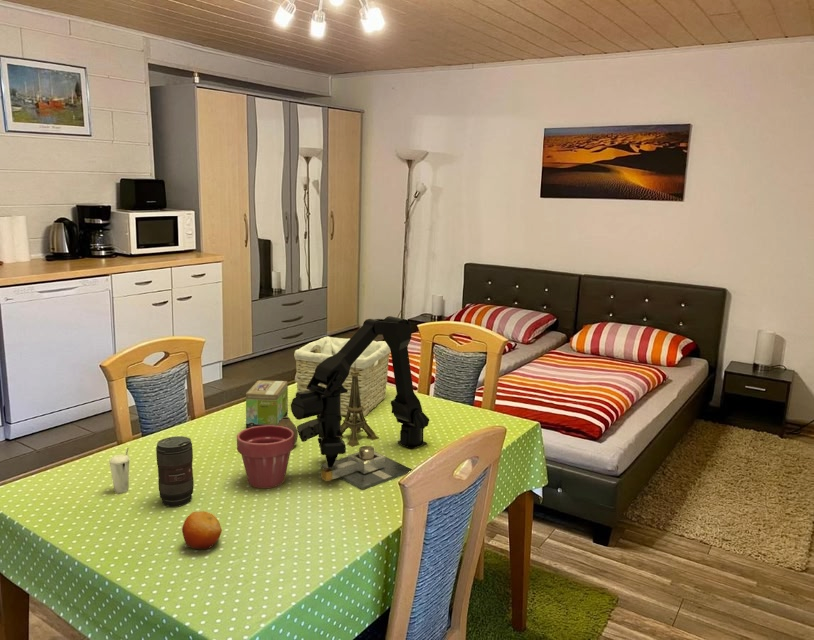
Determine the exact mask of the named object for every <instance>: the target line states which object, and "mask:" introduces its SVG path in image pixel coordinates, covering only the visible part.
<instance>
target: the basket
mask: <svg viewBox="0 0 814 640" xmlns="http://www.w3.org/2000/svg"><path fill="white" fill-rule="evenodd" d="M350 339H351V337H350V338H341V337H332V336H324V337H321V338H320V339H317V340H314V341H312V342H308V343H307V344H305V345H304V346H303V345H302V347H299V349H295V350H294V355H293V356H294V359H295V362H296V363H295V365H296V366H295V369H296V374H295V375H296V378H297V379H296V392H304V391H308V389H307V386H308V384H309V382H310V380H311V379H312V377H313V375H314V373H315V369H316V367H317V366H318V365H319V364H320V363H321V362H323V361H324V360H325V359H327V358H328V357H331V356H333V355H335V354H336V353H338V352H339V351H340V350H341V349H342V347H343V346H344V345H345V344H346V343H347V342H348V341H349V340H350ZM313 351H315V352H313ZM390 355H391V350H390V348H389V346H388V345H387V343H386V342H385V340H384V341H383V340H379V341H376V340H373V341H372V343H371V344H370V345H369V346H368V347H367V348H366V349H365V350H364V352H363V353H362V354H361V355H360V356H359V357H358V358H357V359H356V361H355V362H354V363H353V364H352V365H351V367H350V371H349V375H348V377H347V378H346V380H345V381H344V383H343V384H342V385H343V387H344V388H346V389H347V390H348V391H347V392H346V393H342V394H341V416H344V417H346V415H347V411H348V409H347V408H346V407H347V406H349V400H350V393H351V384H352V376H351V375H350V374H351V373H352V371H354V368H355V366H356V371H358V372H359V374H360V375H359V376H358V384H359V392H360V400H361V406H363V408H364V409H363V410H362V412H363V415H364V418H365V417H366V416H368V414H369V413H370V412H371V411H372V410H373V409H374V408H376V406H377V405H378V404H380V403H381V402H382V401H383V400H385V398H386V392H387V382H388V373H389V372H388V371H389V362H390ZM318 385H319V386H322V387H325V388H326V387H327V386H325V385H323V384H320V383H319V384H318ZM357 415H358V418H360V416H359V413H358V414H357ZM350 418H353V413H351V415H350Z"/></svg>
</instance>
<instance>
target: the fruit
mask: <svg viewBox="0 0 814 640" xmlns="http://www.w3.org/2000/svg"><path fill="white" fill-rule="evenodd" d="M181 528H182V529H181V531H182V536H183V540H184V542H185V547H184V548H183V550H184V551H185V550H186V549H187V548H192V549H196V550H208V549H210V548H211V547H213V546H214V545H215V544H216V542H217V541H218V539H220V536H221V535H222V531H223V530H222V526H221V523H220V521H219V519H218V518H217V517H216V516H215V515H214V514H213V513H211V512H207V511H204V510H203V511H202V510H201V511H194V512H193V511H192V512H191V513H190V514H189V515H188V516H187V517H186V518H185V520H184V522H183V524H182V527H181Z"/></svg>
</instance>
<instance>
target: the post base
mask: <svg viewBox="0 0 814 640" xmlns="http://www.w3.org/2000/svg"><path fill="white" fill-rule="evenodd" d="M358 452H359V458H360V459H362V460H364V461H367V460H370V459H373V458H374V452H376V453H378V454H380V455H382V454H381V453H379V452H377V451H376V450H375V448H374V447H373V446H371V445H365V446H360V447H359V448H358ZM344 462H348V456H345V457H342V458H338V459H336V460H335V462H334V464H333V466H335V465H338V464H341V463H344ZM320 466H321V468H322V469H326V468H328V465H327V462H324V463H322V464H321V465H320ZM411 470H412V471H413V469H412V468H411V467H408V466H406V465H404V464H402V463H400V462H398V461H396V460H395V459H394V460H393V459H391V458H390V457H387V456H385V467H383V468H380V469H377V470H374V471H371V472H368V473H365V474H364V473H362V472H360V471H356V472H353V473H350V474H347V475H344V476H341V477H338V479H341V480H343V481H345V482H347V483H349V484H350V485H352V486H354V487H356V488H357V489H359V490H360V491H364V490H366V489H369V488H373V487H375V486H379V485H380V484H383V483H385V482H388V481H391V480H394V479H397V478H399V477H403V476H405V475H408V474H409V473H408V472H409V471H411ZM407 473H408V474H407Z"/></svg>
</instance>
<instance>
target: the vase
mask: <svg viewBox="0 0 814 640" xmlns="http://www.w3.org/2000/svg"><path fill="white" fill-rule="evenodd" d="M277 426H283V427H286V428H289V429H291V430H292V431H293V432H294V446H295V445H296V444H297V441H298V436H299V434H298V431H297V426H296V425H295V424H294V423H293V421H292V420H291V418H290V417H289V416H288V417H282V418H281V420H280V422H279V423H278V425H277Z"/></svg>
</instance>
